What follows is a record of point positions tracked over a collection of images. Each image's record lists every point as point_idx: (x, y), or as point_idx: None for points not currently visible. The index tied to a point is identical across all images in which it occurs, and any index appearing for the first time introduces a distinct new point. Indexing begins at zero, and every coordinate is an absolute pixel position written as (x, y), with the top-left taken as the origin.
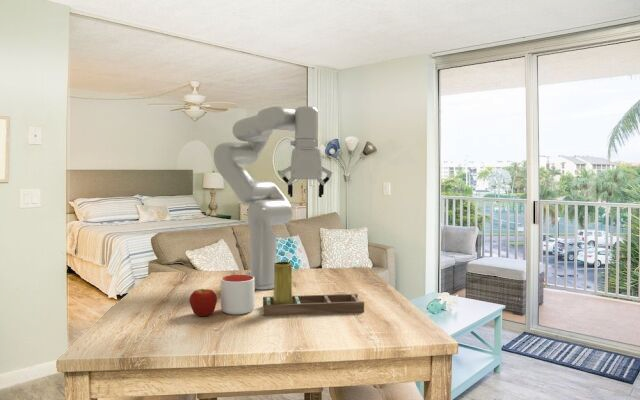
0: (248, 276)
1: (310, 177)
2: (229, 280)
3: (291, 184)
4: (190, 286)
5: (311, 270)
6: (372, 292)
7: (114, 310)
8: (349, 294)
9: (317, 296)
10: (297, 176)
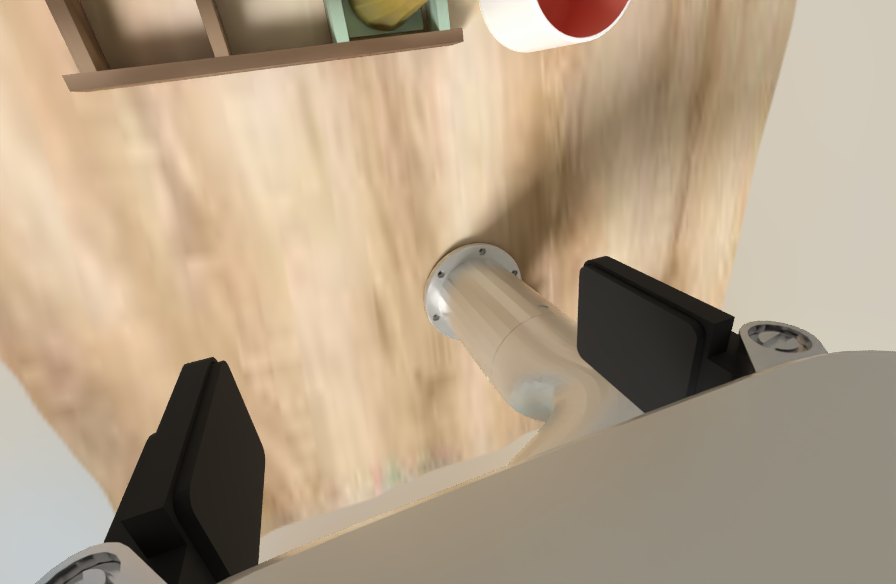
0: (547, 24)
1: (470, 521)
2: (600, 24)
3: (719, 360)
4: (644, 258)
5: (350, 487)
6: (50, 263)
7: (790, 16)
8: (106, 75)
9: (257, 52)
10: (848, 394)
